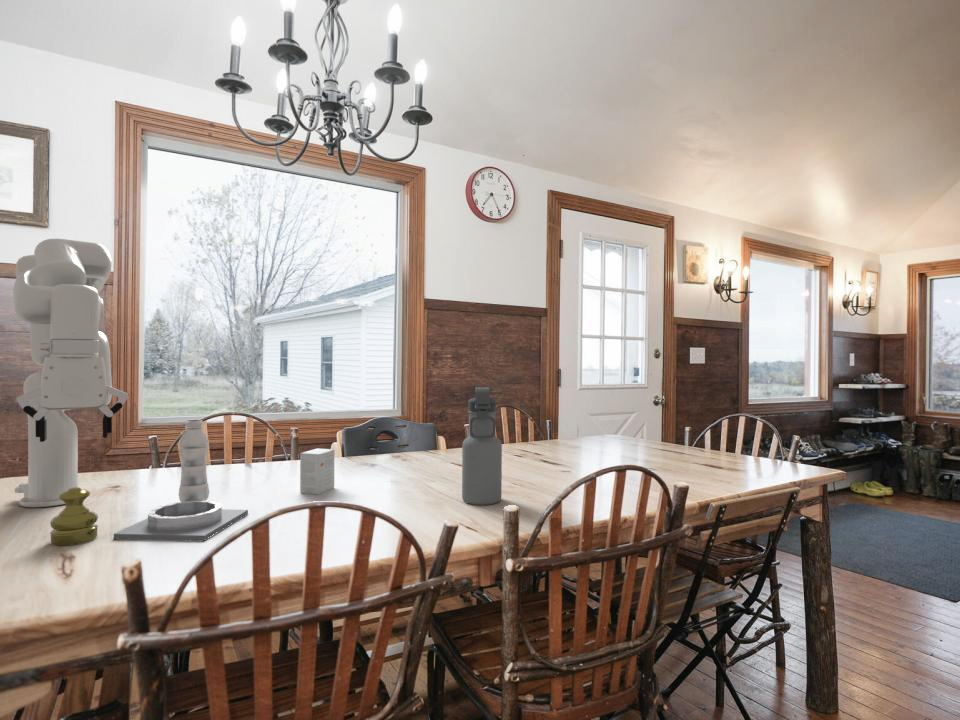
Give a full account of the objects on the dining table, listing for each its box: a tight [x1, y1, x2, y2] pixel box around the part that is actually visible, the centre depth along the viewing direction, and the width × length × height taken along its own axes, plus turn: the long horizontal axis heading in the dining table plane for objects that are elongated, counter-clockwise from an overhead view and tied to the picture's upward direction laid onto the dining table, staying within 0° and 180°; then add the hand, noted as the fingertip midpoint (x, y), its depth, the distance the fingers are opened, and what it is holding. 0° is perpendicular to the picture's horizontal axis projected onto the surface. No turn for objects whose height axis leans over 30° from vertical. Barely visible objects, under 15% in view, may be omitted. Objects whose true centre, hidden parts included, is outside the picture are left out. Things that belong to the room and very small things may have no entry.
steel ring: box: [147, 500, 223, 531], centre depth 115 cm, size 13×13×2 cm
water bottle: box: [461, 386, 503, 506], centre depth 137 cm, size 10×10×28 cm
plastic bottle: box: [178, 419, 210, 502], centre depth 133 cm, size 6×7×20 cm
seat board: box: [113, 508, 249, 542], centre depth 115 cm, size 18×18×1 cm
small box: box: [299, 448, 335, 495], centre depth 147 cm, size 8×6×10 cm
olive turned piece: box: [49, 486, 99, 547], centre depth 106 cm, size 7×7×10 cm
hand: (75, 438), depth 106 cm, fingers open, 9 cm apart
